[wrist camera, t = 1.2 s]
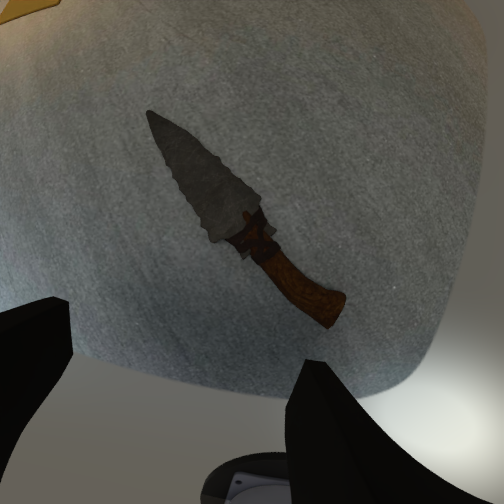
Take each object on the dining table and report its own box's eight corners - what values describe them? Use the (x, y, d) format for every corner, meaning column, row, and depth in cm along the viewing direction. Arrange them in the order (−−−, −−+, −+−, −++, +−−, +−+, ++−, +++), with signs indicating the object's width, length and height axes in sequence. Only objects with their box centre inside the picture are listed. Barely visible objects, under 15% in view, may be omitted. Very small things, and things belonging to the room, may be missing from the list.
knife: (363, 311, 15) (283, 366, 14) (346, 312, 18) (274, 359, 17) (211, 71, 17) (136, 101, 16) (210, 92, 19) (141, 121, 18)
